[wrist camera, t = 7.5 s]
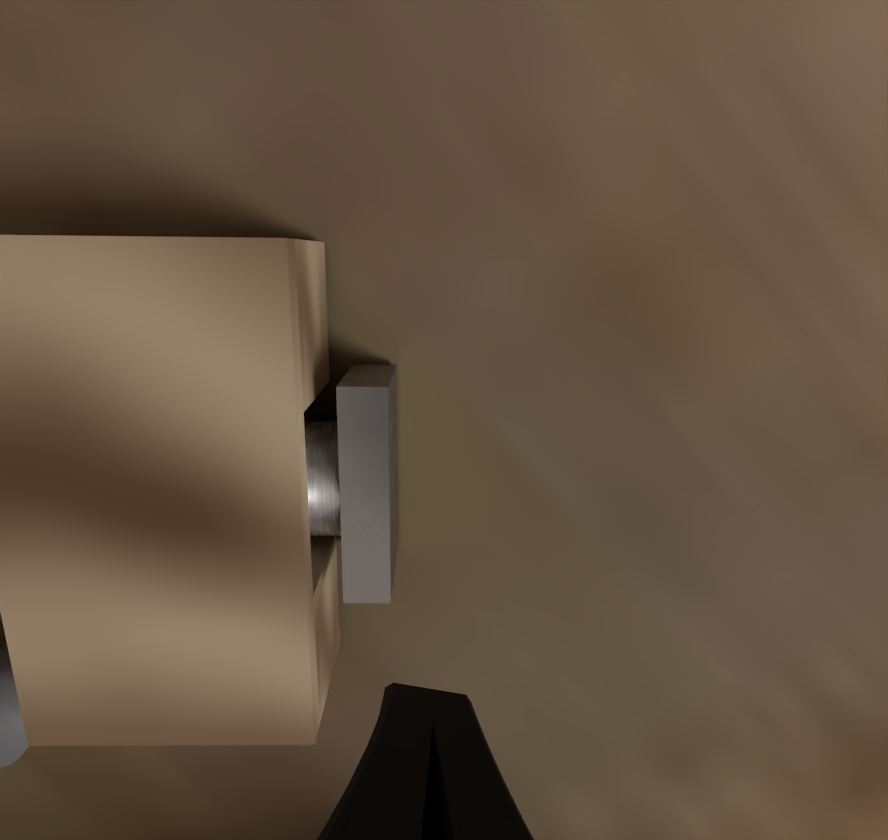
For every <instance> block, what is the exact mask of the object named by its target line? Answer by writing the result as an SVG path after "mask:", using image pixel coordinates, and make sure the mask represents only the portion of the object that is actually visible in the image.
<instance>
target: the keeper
mask: <svg viewBox="0 0 888 840" xmlns="http://www.w3.org/2000/svg"><path fill="white" fill-rule="evenodd" d="M28 747H29V746H28V743H27V739H26V734H25V729H24V724H23V719H22V714H21V710H20V705H19V700H18V695H17V690H16V685H15V680H14V676H13V671H12V666H11V661H10V656H9V651H8V646H7V643H5V644H4V645H2V646H1V647H0V768H2V767H5V766H8V765H10V764H12V763H14V762H15V761H16V760H18V759H19V758H20V757H21V756H22V754H23V753H24V752H25V751H26V750H27V748H28Z"/></svg>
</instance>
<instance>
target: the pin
mask: <svg viewBox="0 0 888 840" xmlns="http://www.w3.org/2000/svg"><path fill="white" fill-rule="evenodd" d="M336 399H337V422H322V421H304V429H305V448H306V468H307V487H308V506H309V525H310V535H313V536H341V548H342V577H343V603H391V597H392V589H393V582H394V574H395V566H396V558H397V550H398V516H397V374H396V365H385V364H353V365H352V366H351V368H350V369H349V370H348V372H347V373H346V374H345V376H344V377H343V378H342V380H341V381H340V382H339V383H338V385H337V386H336Z"/></svg>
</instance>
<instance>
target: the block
mask: <svg viewBox="0 0 888 840" xmlns="http://www.w3.org/2000/svg"><path fill="white" fill-rule="evenodd" d="M329 381H330V371H329V346H328V321H327V296H326V271H325V246H324V242H317V241H309V240H300V239H291V238H245V237H155V236H65V235H0V612H1V617H2V622H3V627H4V632H5V637H6V642H7V646H8V651H9V656H10V661H11V666H12V671H13V676H14V680H15V685H16V690H17V695H18V700H19V705H20V710H21V714H22V719H23V724H24V729H25V734H26V739H27V743H28V746H162V745H315V742H316V738H317V734H318V729H319V725H320V721H321V717H322V713H323V709H324V705H325V701H326V697H327V693H328V689H329V684H330V680H331V676H332V672H333V668H334V664H335V660H336V656H337V652H338V648H339V644H340V622H339V597H338V572H337V547H336V536H313V535H310V525H309V506H308V487H307V468H306V448H305V429H304V412H305V410H306V409H307V408H308V407H309V406H310V404H311V403H312V402H313V401H314V400H315V398H316V397H317V396H318V395H319V394H320V392H321V391H322V390H323V389H324V387H325V386H326V385H327V384H328V383H329Z"/></svg>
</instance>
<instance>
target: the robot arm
mask: <svg viewBox="0 0 888 840" xmlns="http://www.w3.org/2000/svg"><path fill="white" fill-rule="evenodd" d="M317 840H534V839H533V837H532V836H531V834H530V832H529V830H528V828H527V826H526V824H525V822H524V820H523V818H522V816H521V814H520V812H519V810H518V808H517V806H516V804H515V802H514V800H513V798H512V796H511V794H510V792H509V790H508V788H507V786H506V784H505V782H504V780H503V778H502V775H501V773H500V771H499V769H498V767H497V764H496V762H495V760H494V758H493V755H492V753H491V751H490V748H489V746H488V744H487V741H486V739H485V737H484V734H483V732H482V729H481V727H480V724H479V722H478V719H477V717H476V714H475V711H474V709H473V706H472V703H471V701H470V700H469V698H468V697H467V695H464V694H458V693H452V692H446V691H440V690H434V689H428V688H422V687H416V686H410V685H404V684H398V683H392V684H391V685H389V686H387V687H385V691H384V696H383V700H382V705H381V710H380V714H379V717H378V720H377V723H376V726H375V728H374V731H373V733H372V736H371V738H370V741H369V743H368V745H367V748H366V750H365V752H364V754H363V756H362V758H361V760H360V762H359V764H358V766H357V768H356V770H355V772H354V775H353V777H352V779H351V781H350V783H349V785H348V787H347V788H346V790H345V792H344V794H343V796H342V797H341V799H340V801H339V803H338V804H337V806H336V808H335V810H334V811H333V813H332V815H331V817H330V818H329V820H328V822H327V824H326V825H325V827H324V829H323V831H322V832H321V834H320V836H319V837H318V839H317Z"/></svg>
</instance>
